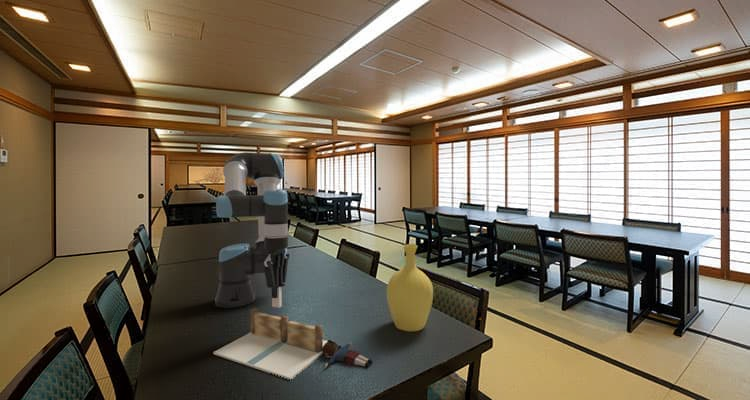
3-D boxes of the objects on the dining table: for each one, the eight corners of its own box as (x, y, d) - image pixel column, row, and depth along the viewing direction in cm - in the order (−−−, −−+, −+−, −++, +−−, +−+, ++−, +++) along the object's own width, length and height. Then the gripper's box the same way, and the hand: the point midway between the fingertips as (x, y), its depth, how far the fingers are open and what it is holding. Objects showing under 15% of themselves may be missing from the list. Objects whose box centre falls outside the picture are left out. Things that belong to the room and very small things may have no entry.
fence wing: (290, 339, 101) (289, 316, 100) (285, 342, 99) (285, 318, 98) (254, 329, 107) (254, 308, 107) (249, 332, 105) (249, 310, 105)
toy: (380, 357, 95) (336, 343, 101) (381, 342, 94) (337, 328, 101) (357, 384, 82) (309, 366, 88) (358, 366, 82) (309, 349, 88)
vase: (427, 339, 104) (429, 251, 102) (380, 330, 109) (380, 248, 108) (436, 319, 119) (437, 243, 117) (394, 312, 124) (394, 240, 123)
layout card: (213, 354, 94) (213, 351, 94) (264, 326, 112) (264, 324, 112) (290, 380, 82) (290, 377, 82) (334, 344, 100) (334, 342, 100)
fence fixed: (286, 343, 98) (286, 320, 98) (291, 340, 100) (291, 317, 100) (319, 352, 93) (319, 328, 93) (324, 349, 95) (324, 325, 95)
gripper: (277, 233, 116) (277, 299, 116) (254, 238, 103) (255, 312, 104) (296, 234, 114) (296, 301, 114) (275, 239, 101) (275, 314, 102)
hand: (276, 306), depth 109 cm, fingers closed
